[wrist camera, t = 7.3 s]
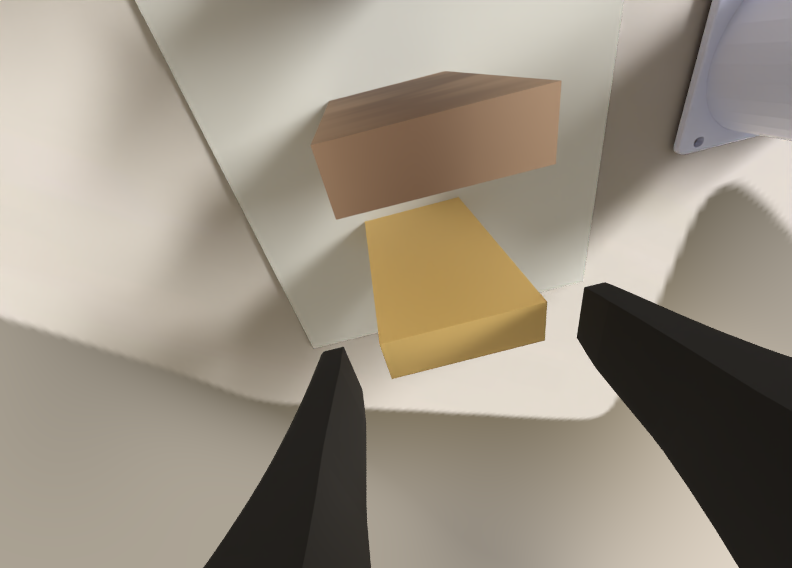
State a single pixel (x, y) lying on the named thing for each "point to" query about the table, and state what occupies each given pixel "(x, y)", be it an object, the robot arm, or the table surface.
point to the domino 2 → (446, 290)
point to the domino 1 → (433, 137)
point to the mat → (367, 70)
